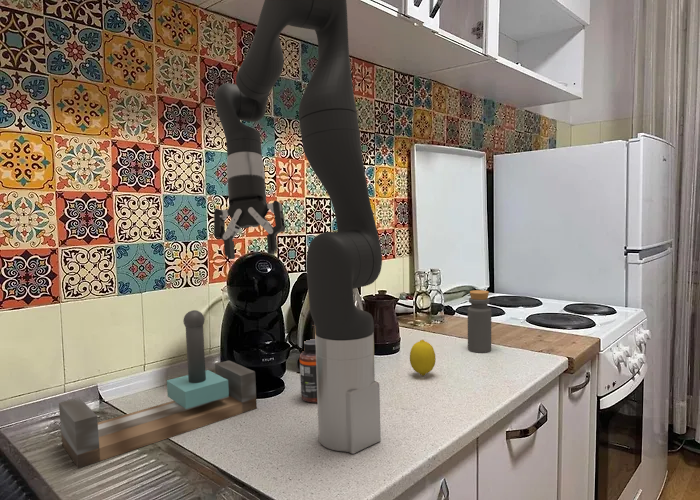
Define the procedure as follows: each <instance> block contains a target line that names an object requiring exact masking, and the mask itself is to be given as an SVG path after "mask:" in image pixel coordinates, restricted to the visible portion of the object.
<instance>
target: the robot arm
mask: <svg viewBox="0 0 700 500" xmlns="http://www.w3.org/2000/svg"><path fill="white" fill-rule="evenodd" d="M347 3H348V2H347V0H264V1H263V4H262V8H261V10H260V13H259V18H258V21H257V25H256V29H255V33H254V37H253V39H252V43H251V44H250V47H249V50H248V52H247V54H245V55H246V56H245V58H244V59H243V61H242V63H241V65H240V67H239V69H238V71H237V72H236V76H235V82H236V83H235V84H234V83H229V82H227V83H223V84H221V85H220V86H218V87H217V89H216V90H215V95H214V105H215V109H216V113H217V116H218V118H219V122H220V124H221V126H222V129H223V133H224V137H225V141H226V156H227V159H226V177H227V180H226V181H227V193H228V208H227V209H219V208H215V209H214V210H213V213H214V214H213V225H214V226H213V236H214V237H215V238H216V239H220V240H222V241H223V247H224V249H223V250H224V256H225V257H227V259H229V260H235V259H236V256H235V255H236V254H235V253H236V252H235V241H234V238H235V237H236V235H237V234H238V233H239V232H240V231H241V230H242V229H249V228H251V227H253V228H257V227H259V226H261V227H262V228H263V229H264V230H265V232H266V233H267V235H266V244H267V254H269V255H271V256H272V255H275V254H276V252H278V251H277V250H278V242H277V241H278V239H277V237H278V236H277V235H279V234H280V233H284V232H285V231H286V224H285V217H284V216H285V215H284V209H283V204H282V203H281V202H280V201H278V200H274V201H273V202H271V203H268V202H267V193H266V192H267V191H266V189H267V188H266V178H265V177H266V172H265V166H264V161H263V154H262V152H263V151H262V139H261V135H260V132H259V131H258V130H257V129H255V128H254V127H251V126H250V125H249V126H248V125H247V124H244V123H243V121H245V122H251V123H253V122H254V123H255V122H258V121H260V120H261V119H263V118H264V117H265V115H266V112H267V106H268V100H269V97H270V92H271V90H272V89H273V87H274V86H275V84H276V83H277V81H278V80H279V78H280V76H281V74H282V72H283V70H284V64H285V63H284V62H285V61H284V59H285V58H284V52H283V47H282V44H281V39H280V34H281V32H283V30H284V29H285V28H286V27H288V26H290V27H294V28H300V29H306V30H312V31H315V34H316V38H317V39H316V40H317V47H318V50H317V51H318V52H317V53H318V58H317V62H316V66H315V68H314V71H313V74H312V76H311V77H310V80H309V82H308V84H307V86H306V88H305V90H304V91H303V94H302V96H301V98H300V102H299V106H298V107H299V108H298V120H299V121H298V122H299V128H300V137H301V145H302V149H303V153H304V156H305V158H306V159H307V160H306V161H308V164H309V166H310V167H311V169H312V170H313V173H314V174H315V176H316V177H317V179H318V180H319V182H320V183H321V184H322V186H323V188H324V189H325V191H326V193H327V195H328V197H329V199H330V201H331V204H332V207H333V210H334V216H335V220H336V221H335V222H336V226H337V227H336V228H337V231H327V232H326V231H325V232H322V233H319V234H317V235H315V236H314V237H313V238H312V240H311V241H310V243H309V245H308V248H307V253H306V259H305V261H306V262H305V266H306V267H305V268H306V280H307V281H306V282H307V292H308V304H309V312H310V316H311V318H312V321H313V324H314V326H315V340H316V373H317V402H316V404H317V422H318V423H317V424H318V425H317V426H318V441H319V443H320V444H321V445H322V447H325V448H327V449H329V450H333V451H338V452H347V453H350V454H355V453H358V452H360V451H362V450H364V449H367V448H369V447H370V446H373V445H375V444H376V443H379V442H381V440H382V437H381V436H382V435H381V433H382V432H381V399H380V396H381V395H380V393H381V392H380V390H381V388H380V383H379V381H376V380H375V379H376V378H375V375H376V373H375V333H374V332H375V331H374V329H375V328H374V326H375V325H374V317H373V315H372V313H370V312H369V311H366V310H363V309H359V308H357V306H356V304H355V298H354V289H358V288H363V287H367V286H370V285H372V284H373V283H374V282H376V280H377V279H378V278H379V276H380V273H381V271H382V264H383V253H382V247H381V242H380V241H381V240H380V237H379V234H378V229H377V224H376V221H375V217H374V213H373V209H372V204H371V200H370V195H369V189H368V183H367V177H366V171H365V164H364V158H363V153H362V143H361V132H360V125H359V117H358V111H357V110H358V109H357V106H356V101H355V100H356V99H355V94H354V93H355V92H354V87H353V86H354V85H353V79H352V71H351V70H352V69H351V62H350V61H351V60H350V46H349V28H348V27H349V25H348V4H347ZM269 210H270V211H269ZM269 212H271V213H272V214H273V215H274V224H275V226H273V225H272V224H271V223H270V221H268V219H267V218H266V216H267V215H268V213H269ZM228 216H229V217H230V218H231V220H229V223H228V224H227V227H225V226H226V222H225V221H226V220H227V218H228ZM225 228H226V229H225Z"/></svg>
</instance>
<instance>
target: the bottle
mask: <svg viewBox="0 0 700 500" xmlns="http://www.w3.org/2000/svg"><path fill="white" fill-rule="evenodd" d="M489 293H490V291H488V290H484V289H479V290H478V289H477V290H475V289H473V290H470V291H469V294H470V295H469V296H470V297H469V298H468V303H470V305H471V306H469V307H468V308H467V349H468V351H469V352H472V353H477V354H483V353H490V352H491V351H492V308H491V307H489V306H488V304H490V303H491V302H490V301H491V299H490V298H489V295H490V294H489Z"/></svg>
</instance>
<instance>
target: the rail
mask: <svg viewBox="0 0 700 500" xmlns="http://www.w3.org/2000/svg"><path fill="white" fill-rule="evenodd" d="M214 369H215V374H217V375H219V376H221V377H223V378H225V379H227V380H228V389H229V396H228V397H224V398H221V399H218V400H214V401H211V402H208V403H204V404H201V405H198V406H195V407H191V408H188V409H185V408H184V407H182V406H181V405H179V404H178V403H177V402H175V401H174V400H170V401H168V402H164V403H161V404H158V405H155V406H151V407H148V408H147V407H146V408H144V409H140V410H137V411H133V412H130V413H129V412H128V413H126V414H123V415H120V416H116V417H113V418H109V419H105V420H102V421H98V415H97V414H96V413H95V412H94V411H93V410H92V409H91V408H90V407H89V405H87V403H85V401H84V400H82V399H81V397H77V398H74V399H73V398H72V399H69V400H66V401H65V400H64V401H61V402H58V410H59V422H60V434H61V446H62V447H63V448H64V450H65V452H66V454H68V456H69V457H70V459H71V460H72V461H73V463H74V465H75V466H76V467H77V469H80V468H84V467H86V466H89V465H93V464H96V463H98V462H102V461H104V460H107V459H111V458H114V457H116V456H119V455H122V454H125V453H128V452H131V451H134V450H137V449H139V448H143V447H145V446H146V447H147V446H149V445H151V444H155V443H158V442H160V441H163V440H166V439H169V438H173V437H176V436H178V435H182V434H185V433H187V432H190V431H193V430H195V429H200V428H203V427H205V426H207V425H208V426H209V425H211V424H214V423H218V422H220V421H223V420H226V419H229V418H232V417H235V416H238V415H241V414H244V413H247V412H250V411H253V410H255V409H257V408H258V406H257V385H256V383H257V381H256V371H255V370H252V369H250V368H247V367H245V366H243V365H241V364H238V363H237V362H235V361H232V360H226V361H225V360H224V361H221V362H216V363H215V364H214Z"/></svg>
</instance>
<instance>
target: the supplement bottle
mask: <svg viewBox="0 0 700 500" xmlns="http://www.w3.org/2000/svg"><path fill="white" fill-rule="evenodd" d="M299 375H300V379H299V381H300V395H301V399H302V400H303V401H305V402H308V403H317V373H316V340H315V339H310V340H306V341H304V351H302V352H301V353H300V354H299Z"/></svg>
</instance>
